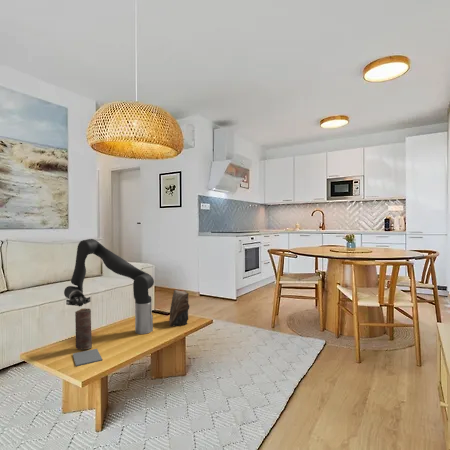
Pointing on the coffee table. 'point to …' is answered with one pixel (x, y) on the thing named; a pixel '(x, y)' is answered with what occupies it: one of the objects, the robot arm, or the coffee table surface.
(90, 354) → the mat
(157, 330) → the coffee table surface
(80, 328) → the reddish brown cylinder
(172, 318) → the dark brown rough block
